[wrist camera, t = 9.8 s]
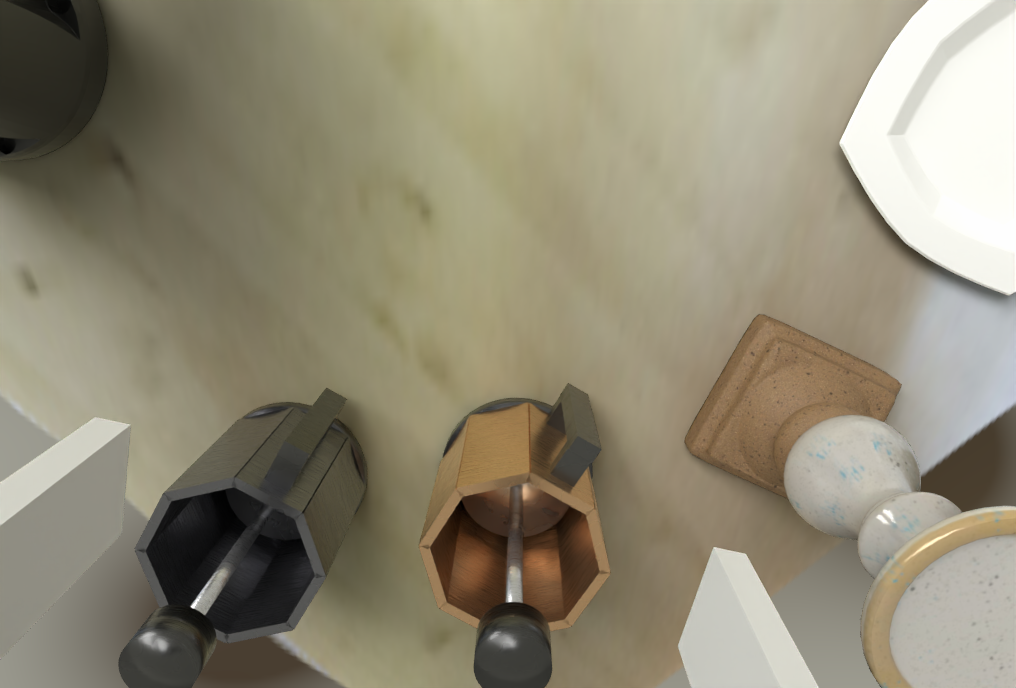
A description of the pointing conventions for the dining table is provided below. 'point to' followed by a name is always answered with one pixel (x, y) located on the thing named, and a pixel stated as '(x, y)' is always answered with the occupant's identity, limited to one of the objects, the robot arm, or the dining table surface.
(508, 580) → the copper plunger
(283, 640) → the dining table surface
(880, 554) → the candle holder
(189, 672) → the steel plunger
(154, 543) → the steel carafe
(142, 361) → the dining table surface
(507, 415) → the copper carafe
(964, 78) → the plate
